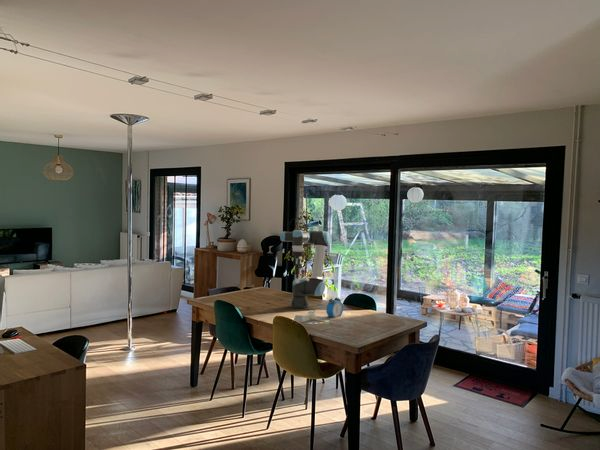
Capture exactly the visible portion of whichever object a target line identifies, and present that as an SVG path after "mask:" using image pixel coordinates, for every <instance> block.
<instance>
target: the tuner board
mask: <svg viewBox="0 0 600 450" xmlns="http://www.w3.org/2000/svg"><path fill="white" fill-rule="evenodd" d="M316 319H318V320H323V321H326V322H322V321H317V320H314V321H310V320H309V321H306V322H302V315H295V316H294V318H293V320H295V321H297V322H299V323H298V324H308V325H313V324H314V325H330V322H331V317H330V316H323V315H321V316H319V315H316Z"/></svg>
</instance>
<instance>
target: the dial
mask: <svg viewBox="0 0 600 450" xmlns="http://www.w3.org/2000/svg"><path fill="white" fill-rule="evenodd" d="M301 316H302V322H306V321H309V320H310V321H314V320H317V321H322V322H326V321H323V320H318V319H316V316H317V313H316V311H314V310H308V312H307V313H305V314H302V315H301Z"/></svg>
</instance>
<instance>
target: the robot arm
mask: <svg viewBox="0 0 600 450" xmlns="http://www.w3.org/2000/svg"><path fill="white" fill-rule="evenodd" d="M279 238H280V241H281V242H288V243H289V242H291V243H292V246H291V248H292V257H295V259H294V275H295V276H294V277H295V279H294V280H293V281H292V297H291V302H290V308H291V309H292V308H293V309H307V308H309V306H310V305H309V301H308V298H307V297H308V296H314V297H320V296H321V297H322V296H323V295H324V293H325V290H326V283H325V281H324V279H323V273H324V263H325V257H326V256H325V255H326V250H327V249H328V248H329V247H328V246H331V243H332V239H331V238H332V237H331V234H330V232H329V231H325V230H306V231H303V230H300V229H294V230H293V231H281V232H280V235H279ZM304 244H306V245H313V248H315V249H314V254H313V255H314V257H313V262H312V270H311V276H310V277H309V279H308V278H306V277H304V278H300V274H301V272H300V270H301V269H300V267H301V266H300V265H301V258H302V257H303V254H304V253H303V250H304V249H303V248H304ZM300 257H301V258H300Z"/></svg>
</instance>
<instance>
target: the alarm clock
mask: <svg viewBox="0 0 600 450" xmlns="http://www.w3.org/2000/svg"><path fill="white" fill-rule="evenodd" d="M325 311H326V315H327V317H330V318H337V317H341V316H342V314H343V313H344V312H343V311H344V305H343V303H342V300H341V298H340V297H335V298H330V299H329V300H328V302H327V305H326V309H325Z"/></svg>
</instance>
